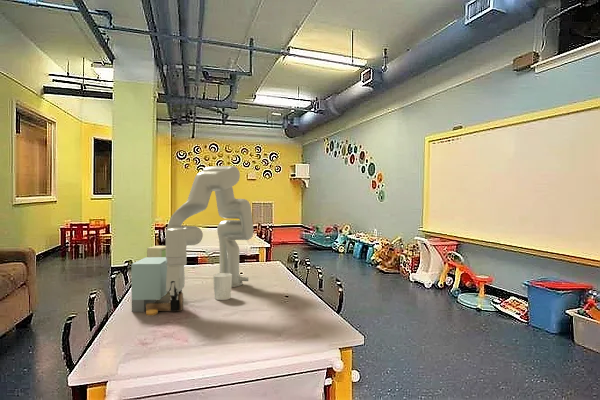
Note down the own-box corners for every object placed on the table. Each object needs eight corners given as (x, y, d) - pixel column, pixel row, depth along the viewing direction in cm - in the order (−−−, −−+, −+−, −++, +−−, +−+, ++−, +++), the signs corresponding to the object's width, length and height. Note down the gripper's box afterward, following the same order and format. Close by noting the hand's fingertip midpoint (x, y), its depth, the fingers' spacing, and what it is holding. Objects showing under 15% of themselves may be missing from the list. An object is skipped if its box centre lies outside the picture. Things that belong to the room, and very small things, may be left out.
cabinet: (171, 300, 166) (171, 257, 166) (160, 311, 150) (160, 263, 150) (145, 300, 166) (145, 257, 166) (131, 311, 150) (131, 264, 150)
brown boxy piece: (183, 308, 153) (182, 292, 153) (180, 311, 149) (180, 295, 149) (148, 309, 152) (148, 293, 152) (145, 311, 149) (145, 295, 149)
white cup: (235, 297, 172) (235, 273, 171) (224, 301, 164) (224, 277, 164) (220, 295, 175) (220, 272, 175) (209, 299, 168) (209, 275, 168)
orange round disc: (159, 312, 149) (159, 308, 149) (155, 315, 146) (155, 311, 145) (148, 312, 150) (148, 308, 150) (144, 315, 146) (144, 311, 146)
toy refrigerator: (162, 296, 172) (161, 248, 172) (146, 295, 174) (146, 247, 173) (171, 292, 180) (171, 245, 180) (156, 291, 182) (156, 245, 181)
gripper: (171, 257, 159) (172, 303, 159) (159, 264, 142) (160, 315, 143) (191, 257, 159) (191, 302, 160) (181, 264, 143) (181, 315, 143)
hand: (176, 308), depth 151 cm, fingers closed on brown boxy piece, 3 cm apart
